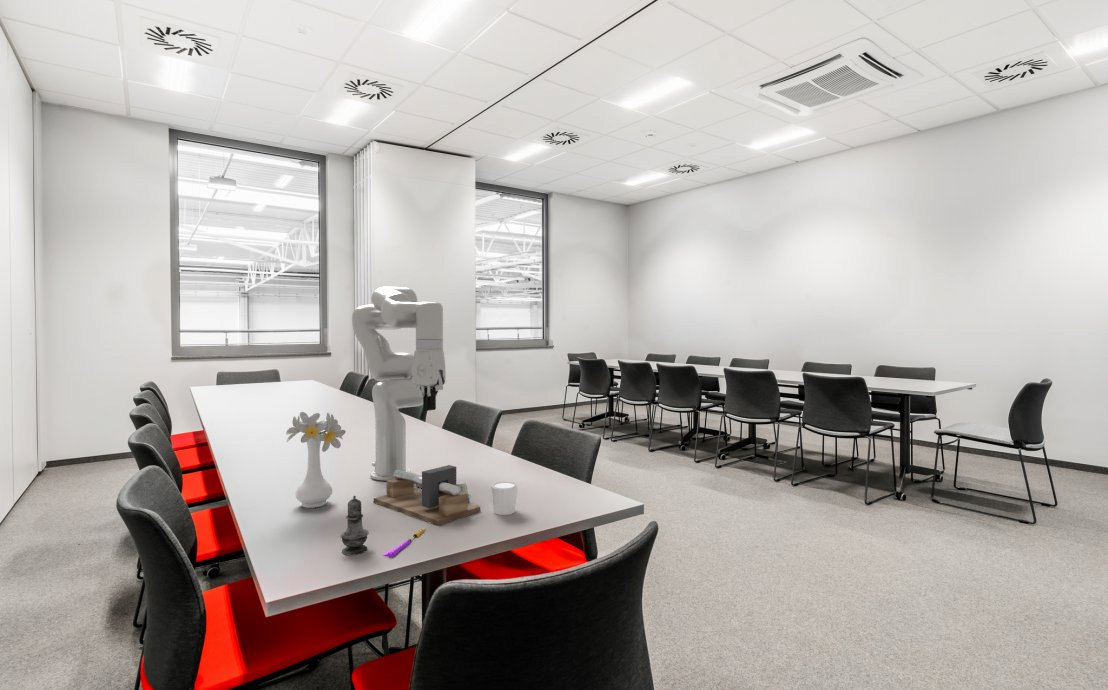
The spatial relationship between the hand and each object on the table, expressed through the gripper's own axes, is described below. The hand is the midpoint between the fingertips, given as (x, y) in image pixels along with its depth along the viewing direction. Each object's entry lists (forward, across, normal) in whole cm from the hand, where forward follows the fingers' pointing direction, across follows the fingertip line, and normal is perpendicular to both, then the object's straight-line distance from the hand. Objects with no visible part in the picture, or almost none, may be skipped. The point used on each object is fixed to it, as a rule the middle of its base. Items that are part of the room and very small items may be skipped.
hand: (429, 409), depth 155 cm
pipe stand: (+25, +6, -6) cm, 26 cm away
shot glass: (+25, +25, +5) cm, 36 cm away
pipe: (+20, +6, -6) cm, 21 cm away
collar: (+23, +12, -6) cm, 27 cm away
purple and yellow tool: (+26, +23, -25) cm, 42 cm away
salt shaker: (+25, +18, -34) cm, 46 cm away
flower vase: (+25, -18, -24) cm, 39 cm away
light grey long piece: (+26, +2, +3) cm, 26 cm away
